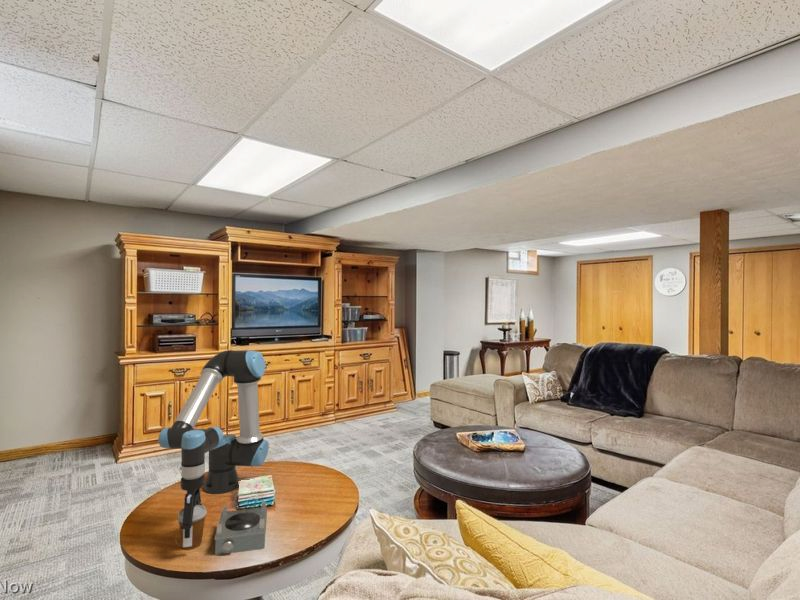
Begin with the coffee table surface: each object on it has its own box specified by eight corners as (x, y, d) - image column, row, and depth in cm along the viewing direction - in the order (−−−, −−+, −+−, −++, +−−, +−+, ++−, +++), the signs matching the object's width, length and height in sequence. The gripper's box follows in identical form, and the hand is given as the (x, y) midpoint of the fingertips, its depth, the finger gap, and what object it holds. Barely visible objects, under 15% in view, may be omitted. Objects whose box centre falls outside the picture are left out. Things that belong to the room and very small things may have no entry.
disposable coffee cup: (204, 549, 148) (204, 515, 148) (173, 554, 146) (174, 518, 146) (208, 535, 158) (208, 502, 158) (179, 539, 155) (180, 506, 155)
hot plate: (221, 527, 163) (221, 504, 163) (267, 522, 167) (267, 499, 167) (213, 557, 144) (214, 530, 144) (265, 550, 149) (265, 524, 149)
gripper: (188, 464, 163) (187, 520, 162) (172, 491, 139) (171, 557, 138) (209, 462, 165) (208, 517, 164) (197, 489, 141) (196, 553, 140)
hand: (191, 535), depth 151 cm, fingers open, 13 cm apart
